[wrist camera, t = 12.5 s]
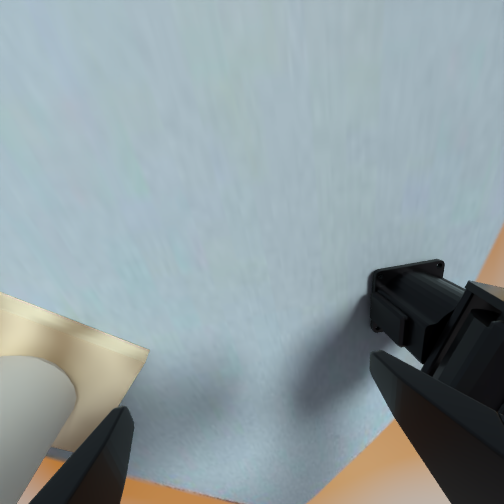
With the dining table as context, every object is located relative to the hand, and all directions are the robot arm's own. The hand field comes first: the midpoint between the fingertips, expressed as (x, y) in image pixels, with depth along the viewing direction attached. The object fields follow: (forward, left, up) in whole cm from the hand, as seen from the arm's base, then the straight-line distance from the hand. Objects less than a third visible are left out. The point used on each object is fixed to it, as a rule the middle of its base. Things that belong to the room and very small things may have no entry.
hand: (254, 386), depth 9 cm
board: (+18, +7, -12) cm, 23 cm away
